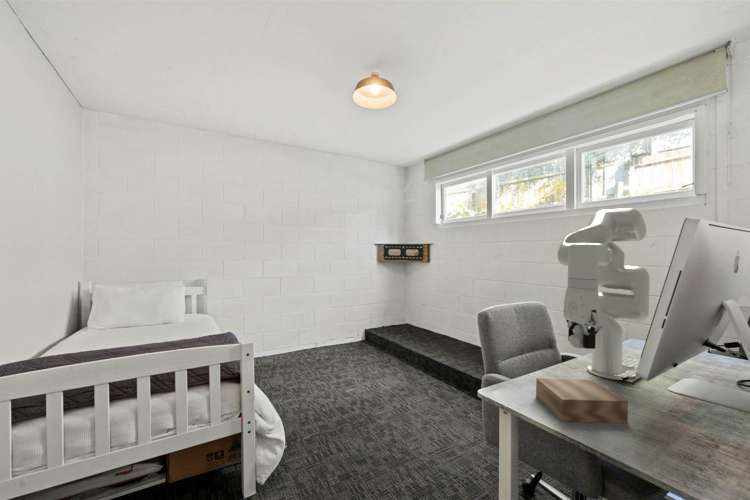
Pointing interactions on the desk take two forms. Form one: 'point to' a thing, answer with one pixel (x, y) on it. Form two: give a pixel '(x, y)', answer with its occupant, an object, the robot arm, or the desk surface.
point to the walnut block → (581, 400)
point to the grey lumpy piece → (577, 336)
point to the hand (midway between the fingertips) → (581, 344)
